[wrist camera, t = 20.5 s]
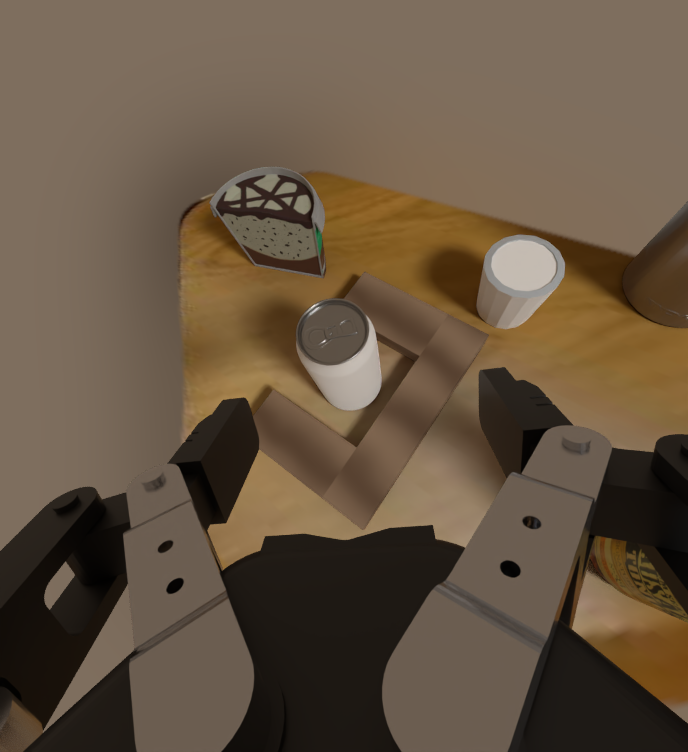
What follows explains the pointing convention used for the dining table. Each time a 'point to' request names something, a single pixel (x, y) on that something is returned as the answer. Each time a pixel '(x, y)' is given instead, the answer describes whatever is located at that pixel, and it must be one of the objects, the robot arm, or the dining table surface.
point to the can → (340, 352)
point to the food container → (274, 219)
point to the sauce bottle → (634, 575)
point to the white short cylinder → (517, 279)
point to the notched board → (396, 421)
